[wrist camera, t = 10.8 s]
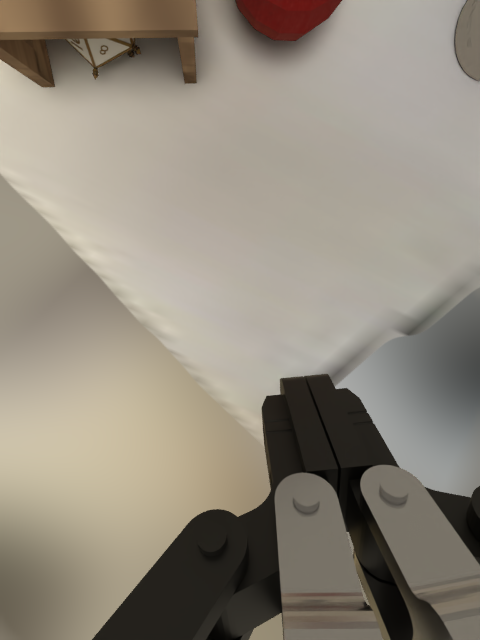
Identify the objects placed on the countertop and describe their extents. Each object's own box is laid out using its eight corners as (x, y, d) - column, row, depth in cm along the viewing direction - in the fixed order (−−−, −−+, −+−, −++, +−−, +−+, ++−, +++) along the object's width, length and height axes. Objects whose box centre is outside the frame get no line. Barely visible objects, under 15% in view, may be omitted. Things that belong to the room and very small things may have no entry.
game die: (129, 31, 36) (178, -35, 28) (116, 109, 35) (161, 62, 28) (33, -40, 30) (62, -148, 22) (16, 53, 30) (40, -25, 22)
